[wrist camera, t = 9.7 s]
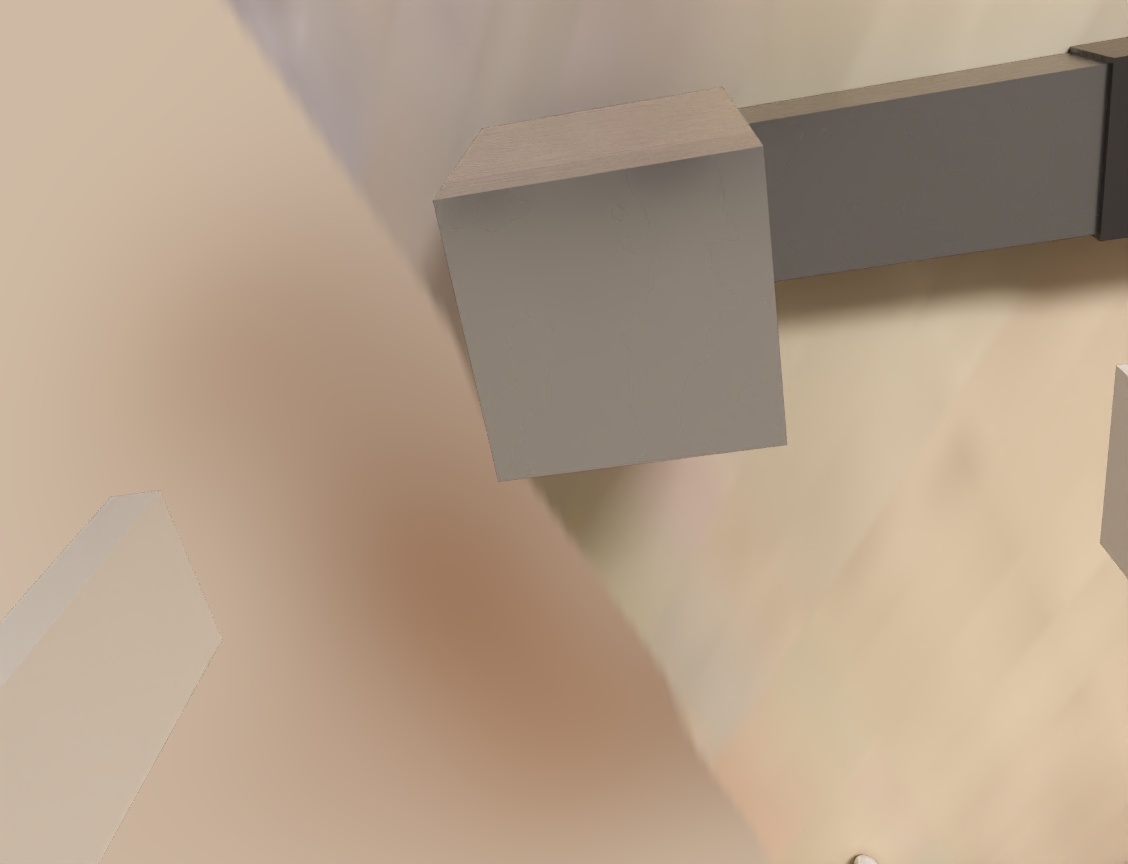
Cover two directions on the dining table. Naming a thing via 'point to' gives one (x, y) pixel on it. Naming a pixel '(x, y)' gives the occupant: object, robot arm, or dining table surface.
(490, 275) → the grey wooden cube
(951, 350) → the dining table surface
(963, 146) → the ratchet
